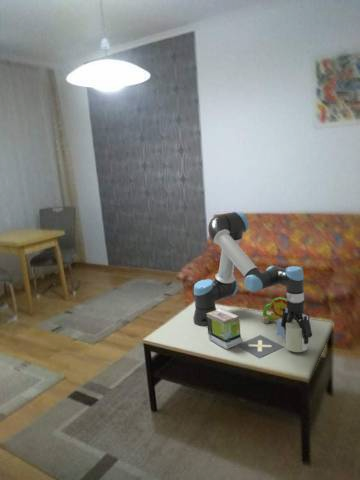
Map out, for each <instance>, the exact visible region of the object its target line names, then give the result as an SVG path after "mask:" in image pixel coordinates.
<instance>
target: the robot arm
mask: <svg viewBox="0 0 360 480" xmlns="http://www.w3.org/2000/svg"><path fill="white" fill-rule="evenodd" d="M249 226H250V224H249V220H248V218H247V216H246V214H244V213H243V212H242V211H232V212H229V213H228V212H227V213H223V214H222V213H221V214H217V215H215V216H213V217H212V218H211V219H210V221H209V223H208V226H207V228H208V234H209V237H210V239H211V241H212V242H213V243H214V244H216V245H218V246H219V247H220V248H221V252H220V259H219V267H218V272H217V273H215V275H214V280H212V279H201V280H199V281H197V282H196V283H195V284H194V285H193V296H194V306H195V308H194V314H193V323H194V324H195V325H197V326H200V327H201V326H202V327H204V326H205V327H208V325H207V314H206V313H209V312H212V311H215V310H217V308H216V301H217V302H218V301H221V300H224V299H227V298H230V297H232V296H235V295H236V294H237V292H238V288H239V285H238V281H237V279H236V277H235V276H234V273H235V271H234V270H235V267H236V269H238V271H239V272H240V274H242V276H243V278H244V281H243V282H244V285H245V288H246V290H247V291H249V292H259V291H261V290H263V289H266V288H270V287H272V286H276V285H282V286H285V287H286V299H287V307H286V308H283V309H282V310H283V316H282V322H281V326H282V327H284V329H285V335H286V323H290V322H292V321H293V319H294V320H296V321H297V323H298V324H299V327H300V328H302V334H303V337H302V350H303V352H305V351H306V350H308V344H309V338H311V337H313V332H312V331H313V330H312V327H311V323H310V322H311V321H310V319H311V318H310V315H309V314H308V315H307V314H305V313H304V309H305V291H304V280H305V276H304V270H303V268H302V267H300V266H295V265H292V266H288V267H286V268H282V267H279V266H275V265H270V266H268V267H267V268H266V269H265V270H263V271H261V270H260V269H259V268H258V267H257V265H255V263H254V262H253V261H252V260H251V258H250V257H249V256H248V254H246V252H245V251H244V250H243V249H242V248H241V246H240V245H239V241H240V240H242V239H243V235H244V233H245V232H247V231H248V230H249V228H250V227H249ZM288 313H289V316H288ZM287 318H288V320H287ZM299 320H300V321H299ZM305 334H306V335H305ZM304 350H305V351H304Z"/></svg>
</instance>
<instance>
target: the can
mask: <svg viewBox="0 0 360 480" xmlns="http://www.w3.org/2000/svg"><path fill="white" fill-rule="evenodd" d="M305 335H306V334H305ZM302 337H303V334H302V328H300V327H299V324H298V323H297V321H296V320H293V321H292V322H290V323H286V338H285V343H286V345H285V347H286V349H287V350H288V351H290V352H293V353H302V352H305V351H306V350H304V351H303V350H302Z"/></svg>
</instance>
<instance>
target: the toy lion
mask: <svg viewBox="0 0 360 480" xmlns="http://www.w3.org/2000/svg"><path fill="white" fill-rule="evenodd" d="M286 307H287V297H283V296H282V297H281V296H278V297H275V298H274V299H273V300H272V301H271V303H267V304H266V305H265V306H264V307H263V309H262V316H263V317H262V322H263V324H265V325H266V324H267V325H268V324H270V322H271V321H272V322H273V321H274V322H277V320H279V319H281V318H282V316H283V310H282V309H283V308H286ZM267 309H270V310H272V311H273V312H271V313H270V314H268V312H267ZM288 316H289V313H288Z"/></svg>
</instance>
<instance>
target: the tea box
mask: <svg viewBox="0 0 360 480" xmlns="http://www.w3.org/2000/svg"><path fill="white" fill-rule="evenodd" d="M206 314H207V325H208V326H207V332H208V333H207V335H208V340H210V341H211V342H213V343H215V344H217V345H218V346H220V347H222V348H224V349H226V350H228V349H230V348H233V347H236V346H237V345H238V344H240V343H242V336H241V324H240V322H241V321H240V315H238V314H235V313H232V312H230V311H228V310H226V309H223V308H218V309H216V310H215V311H212V312H209V313H206Z"/></svg>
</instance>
